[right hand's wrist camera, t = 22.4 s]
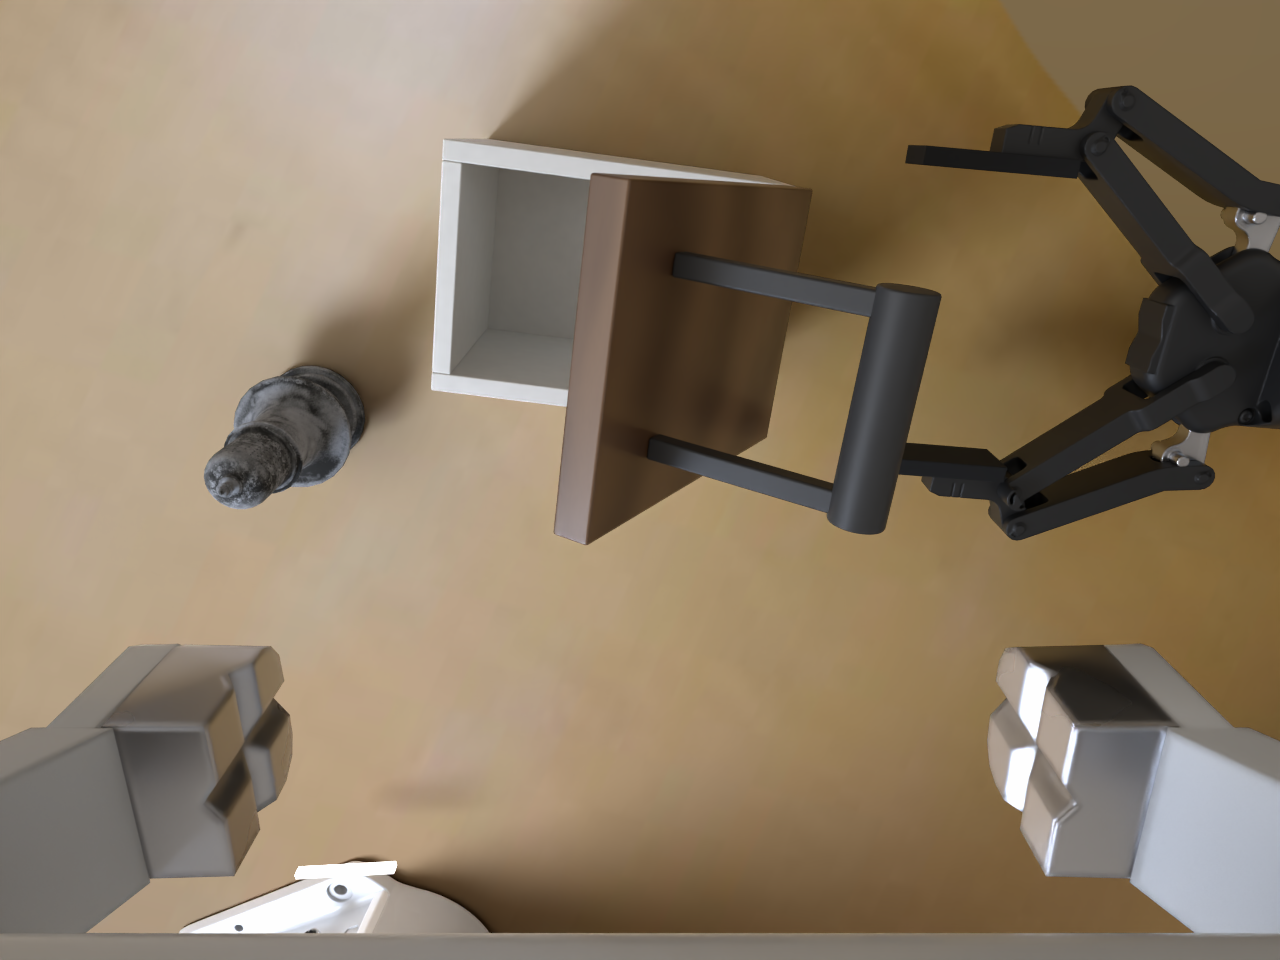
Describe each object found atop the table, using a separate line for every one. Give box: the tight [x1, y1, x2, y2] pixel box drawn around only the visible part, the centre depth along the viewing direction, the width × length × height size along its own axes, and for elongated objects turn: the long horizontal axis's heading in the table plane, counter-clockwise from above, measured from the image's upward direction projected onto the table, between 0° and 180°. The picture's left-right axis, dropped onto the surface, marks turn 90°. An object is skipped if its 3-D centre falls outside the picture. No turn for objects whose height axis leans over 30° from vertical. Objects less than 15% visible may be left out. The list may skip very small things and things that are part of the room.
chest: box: [431, 139, 793, 407], centre depth 42 cm, size 14×10×11 cm
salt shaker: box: [204, 366, 365, 509], centre depth 44 cm, size 6×6×12 cm
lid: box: [554, 173, 941, 545], centre depth 29 cm, size 14×10×8 cm
